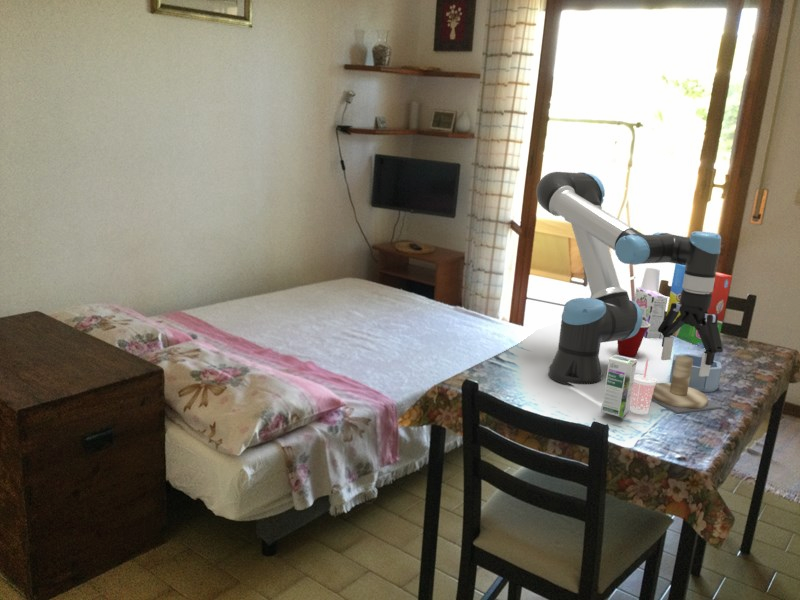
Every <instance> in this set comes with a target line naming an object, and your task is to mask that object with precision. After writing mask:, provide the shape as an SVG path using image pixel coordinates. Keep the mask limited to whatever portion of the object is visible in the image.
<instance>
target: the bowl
mask: <svg viewBox="0 0 800 600" xmlns="http://www.w3.org/2000/svg"><path fill="white" fill-rule="evenodd" d="M676 356H687V357H690V358H692V359H693V365H692V370H691V375H690V381H689V386H688V387H691V388H694V389H696V390H698V391H701V392H702V393H712V392H715V391H717V390H718V388H719V384H720V379H721V376H722V375H721V373H722V368H723V367H722V363H721V362H720V361H717V360H715V359H714V361H713V364H712V365H711V367H710V372H709V376H702V377H701V376H699V372H700V367H701V361H702V356H701V355H697V354H690V353H680V354H673V357H672V363H671V368H670V374H669V383H671V382H672V376H673V370H674V365H675V359H676Z"/></svg>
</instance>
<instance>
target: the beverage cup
mask: <svg viewBox="0 0 800 600" xmlns="http://www.w3.org/2000/svg"><path fill="white" fill-rule="evenodd" d="M648 364H649V359H646V360H645V367H644V373H643V374H641V373H639V374H637V373H635V375H634V381H633V387H632V393H631V399H630V405H629V411H630V412H631V413H633V414H637V415H642V416H643V415H648V414H649V410H650V406H651V402H652V400H651V399H652V395H653V391H654V387H655V385H656V383H658V380H657V378H655V377H653V376H650V375H647V370H648Z"/></svg>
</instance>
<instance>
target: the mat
mask: <svg viewBox="0 0 800 600" xmlns="http://www.w3.org/2000/svg"><path fill="white" fill-rule="evenodd" d="M651 402H654V403H655V404H658V405H659V406H661V407H663V408H665V409H667V410H669V411H670V412H673V413H675V414H676V415H677V414H678V415H679V414H688V413H695V412H696V413H697V412H702V411H703V412H704V411H712V410H720V409H721V410H722V409H723V406H722V405H720V404H718V403H716V402H714V401H711V400H709V399H708V402H707V405H706V406H705V407H703V408H699V409H687V408H679V407H675V406H670V405H667V404H664V403H661V402H659V401H657V400H655V399H653V398H652V399H651Z"/></svg>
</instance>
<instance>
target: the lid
mask: <svg viewBox="0 0 800 600" xmlns="http://www.w3.org/2000/svg"><path fill="white" fill-rule="evenodd" d="M692 365H693V359H692V358H690V357H687V356H676V359H675V365H674V370H673V376H672V382H656V385H655V387H654V391H653V395H652V398H653V399H655V400H657V401H659V402H661V403H664V404H667V405H670V406H675V407H679V408H687V409H699V408H703V407H705V406H706V405H707V402H708V400H709V397H708V396H707V394H705V392H701V391H698V390H696V389H694V388H691V387H688V386H689V381H690V375H691V370H692Z"/></svg>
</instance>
